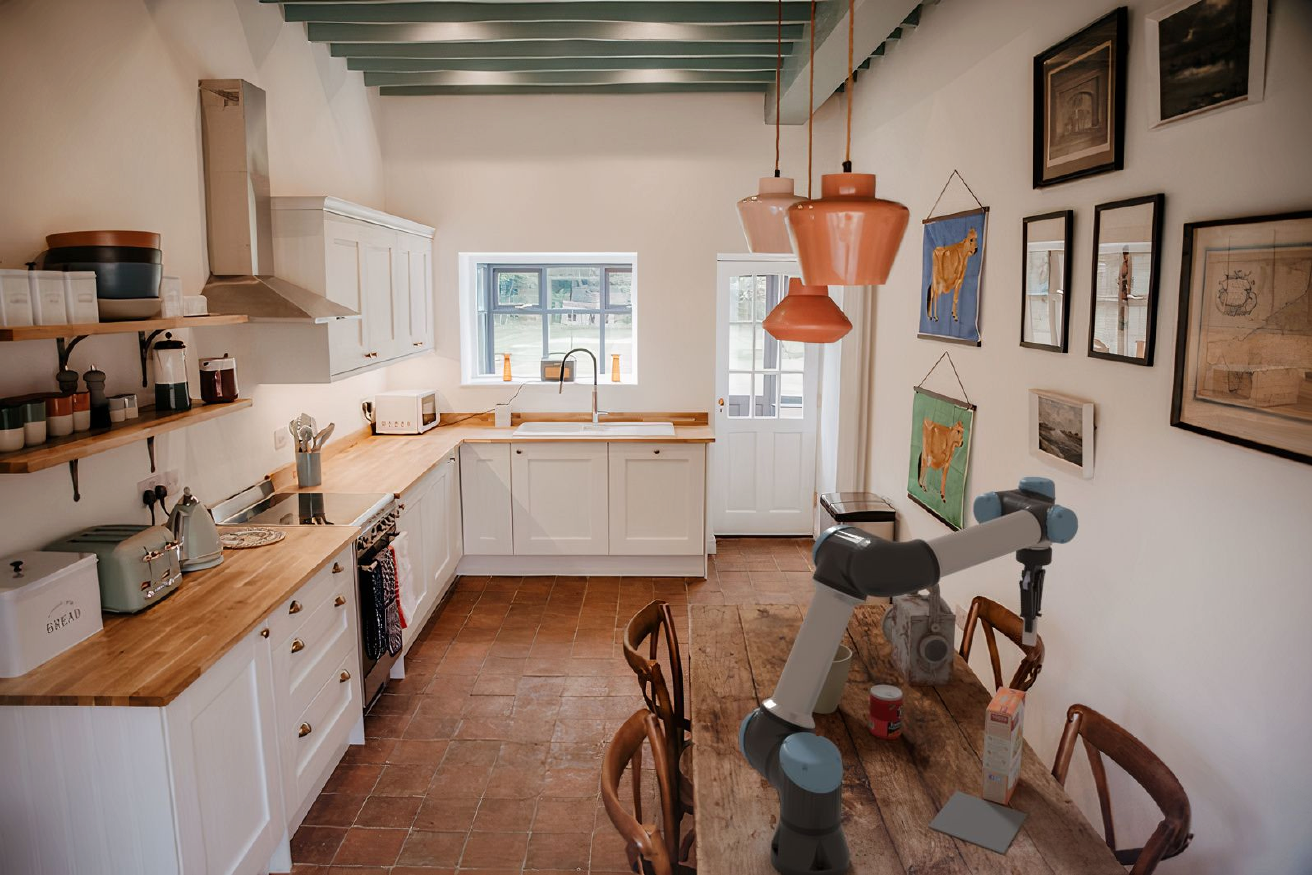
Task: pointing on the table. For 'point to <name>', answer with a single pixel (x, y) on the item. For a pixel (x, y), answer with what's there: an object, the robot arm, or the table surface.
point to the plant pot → (834, 682)
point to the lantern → (921, 638)
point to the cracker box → (1003, 745)
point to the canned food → (886, 711)
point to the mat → (978, 822)
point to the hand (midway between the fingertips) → (1029, 644)
